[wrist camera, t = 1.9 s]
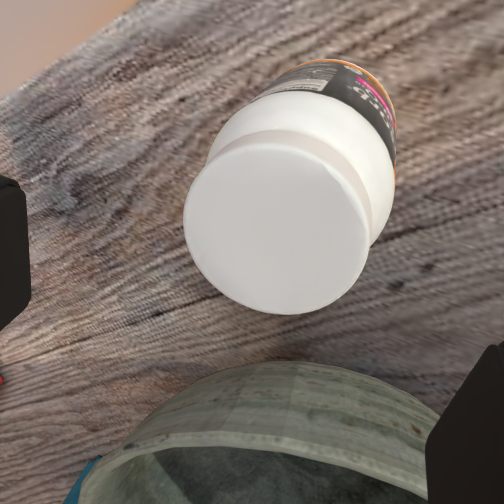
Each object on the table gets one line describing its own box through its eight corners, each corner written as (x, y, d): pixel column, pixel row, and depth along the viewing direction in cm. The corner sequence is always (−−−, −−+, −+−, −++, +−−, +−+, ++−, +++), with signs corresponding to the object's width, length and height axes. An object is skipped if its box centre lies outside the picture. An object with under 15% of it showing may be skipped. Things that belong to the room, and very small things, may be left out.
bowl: (446, 220, 20) (480, 392, 12) (558, 521, 27) (629, 760, 19) (102, 327, 29) (-15, 467, 21) (255, 532, 36) (213, 697, 28)
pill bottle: (414, 167, 19) (428, 309, 11) (289, 207, 22) (223, 349, 14) (369, 29, 17) (344, 77, 9) (236, 90, 20) (121, 174, 11)
